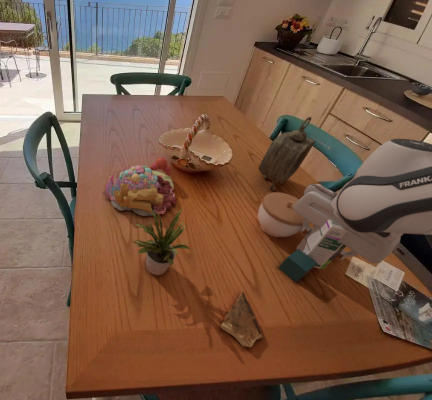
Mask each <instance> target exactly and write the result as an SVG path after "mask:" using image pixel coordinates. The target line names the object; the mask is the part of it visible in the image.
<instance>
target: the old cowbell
mask: <svg viewBox="0 0 432 400" xmlns="http://www.w3.org/2000/svg"><path fill="white" fill-rule="evenodd" d="M311 121H312V117H311V116H308V117H307V118H306V119H305V120H304V121H303V122H302V123H301V125H300V126H299V129H294V130H292V131H285V132H283V133H281V134H280V135H278V136H277V137H276V138H274V139H273V141H272V142H271V144H270V145H269V147H268V148H267V150H266V152H265V154H264V156H263V158H262V160H261V162H260V163H259V166H258V171H259V173H260V174H261V175H263V178H264V179H266V180H268V179H271V180H272V185H271V186H270V187H269V190H270V191H274V192H275V190H276V186H275V185H276V182H277V183H279V184H281V185H283V184H284V183H286V182H287V181H288V180H289V179H290V178H291V177H292V176H293V175H294V174H295V173H296V172H297V171H298V169H299V168H300V166H301V165H302V164H303V162H304V161H305V159H306V158H307V156H308V154H309V153H310V151H311V150H312V149H313V146H314V145H315V143H316V140H314V139H312V138H309V137H308V133H307V132H305V129H306V128H307V127H308V126H309V124H310V122H311Z"/></svg>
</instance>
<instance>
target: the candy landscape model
mask: <svg viewBox="0 0 432 400" xmlns="http://www.w3.org/2000/svg"><path fill="white" fill-rule="evenodd" d="M159 170H161V171H162V172H160V171H159ZM171 175H172V171H171V166H170V165H169V164H168V160H167V159H166V158H164V157H158V158H157V159H156V160H155V162H153V163H152V164H151V165H150V166H148V165H140V164H137V165H131V166H130V165H128V166H127V167H126V169H125V168H123V170H122V171H120V172H119V174H118V177H117V178H114V175H112V176H110V175H109V176H108V181H107V183H106V185H105V194H106V196H108V197H107V198H106V199H107V200H110V204H111V205H112V207H113V208H114V209H116V210H117V211H132V212H134V213H135V214H137V215H139V216H143V217H146V216H150V217H151V216H153V214H152V212H151V210H150V208H151V209H152V210H153V211H154V213H155V214H156V215H158V214H159V215H164V214H165V213H166V212H167V210H169V211H173V209H172V208H173V207H172V204H173V205H175V206H176V205H177V201H178V199H177V198H176V197H175V195H176V194H175V193H174V192H173V191H174V190H175V186H174V185H175V184H174V182H173V179H172V178H171V177H172V176H171ZM149 207H150V208H149ZM157 213H158V214H157Z"/></svg>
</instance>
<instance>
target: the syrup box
mask: <svg viewBox="0 0 432 400" xmlns="http://www.w3.org/2000/svg"><path fill="white" fill-rule="evenodd" d="M311 228H312V229H311V230H310V232H309V233H308V234H307V235H305V237H303V239H302V240H301V241H300V242H299V243H298V245H297V246H296V250H298V249H300V250H301V251H302V252H304V253H305V254H306V255H308V256H309V257H310V258H312V259H313V260H314V261H316V262H317V264H316V265H315V266H314V267H313V268H315V269H319V270H325V268H326V267H327V266H328V265H329V264H330V263H332V261H333V260H335V259H336V258H337V257H336V256H337V255H338V254H339V253H340V252H341V251H342V250H345V248H347V246H345V245H344V244H342V243H341V242H340V239H341V238H342V237H343V235H344V234H345V233H346V232H347V231H346V230H345V229H344V228H342V227H341V226H339V225H338V224H336V223H335V222H333V221H332V220H328V221H327V222H326V223H325V224H324V226H323V227H322V228H321V229H320V228H318V227H317V226H315V225H314V224H313V227H311Z"/></svg>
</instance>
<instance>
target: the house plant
mask: <svg viewBox="0 0 432 400" xmlns="http://www.w3.org/2000/svg"><path fill="white" fill-rule="evenodd" d="M149 208H150V207H149ZM150 210H151V212H152V214H153V215H152V216H153V220H154V226H155V228H156V230H154V226H153V225H152V223H151V221H149V220H147V221H148V225H149V226H148V225H146V224H140V223H133V225H134V226H137V227H139V228H141V229H143V231H144V233H146V234H149V235H150V236H151V237H152V239H150V240H146V241H143V240H139V239H136V240H135V239H134V241H131V242H132V243H134V244H136V247H138V248H140V249H139V250H138V251H137V254H145V258H146V259H145V262H146V263H145V264H146V269H147V271H148V272H149V273H150V274H152V275H154V276H162V275H164V274H165V273H166V272H167V270H168V269H169V267H172V266H173V264H174V260H175V258H176V255H177V256H178V255H179V252H178V249H182V250H189V251H191V248H190V247H189V246H188V245H186V244H187V243H189V241H185V242H181V243H175V244H173V243H174V242H175V241H176V240H177V239H178V238H179V237H180V236H181V234H182V233H183V232H184V230H185V229H186V227H187V225H188V224H187V223H186V224H185V225H184V226H183V224H184V220H183V221H182V222H181V223H180V224H179V225H178V227H177V228H176V229H175V228H174V227H175V226H176V225H177V224H178V223H179V222H180V221H181V219H179V218H180V216H181V213H182V211H183V208H180V209H179V210H178V211H177V213H176V214H175V215H174V217H173V218H172V219H171V222H170V224H169V227H167V228H166V230H165V233H164V231H163V221H162V216H161V214H158V213H157V214H155V213H154V211H153V210H152V209H151V208H150ZM182 226H183V227H182ZM156 232H157V233H156ZM172 244H173V245H172Z"/></svg>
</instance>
